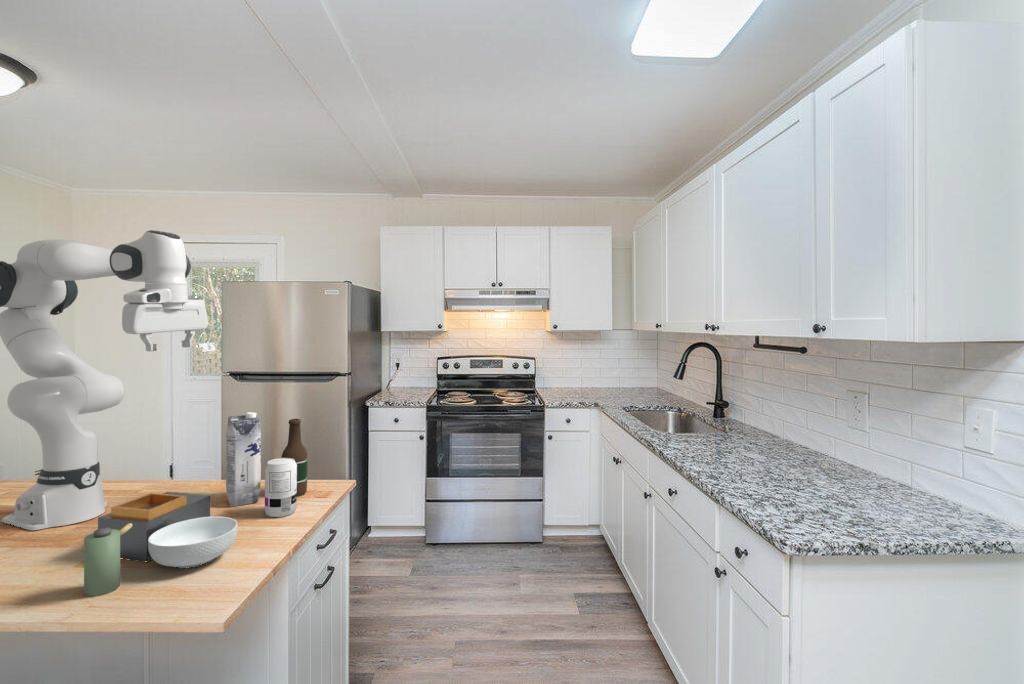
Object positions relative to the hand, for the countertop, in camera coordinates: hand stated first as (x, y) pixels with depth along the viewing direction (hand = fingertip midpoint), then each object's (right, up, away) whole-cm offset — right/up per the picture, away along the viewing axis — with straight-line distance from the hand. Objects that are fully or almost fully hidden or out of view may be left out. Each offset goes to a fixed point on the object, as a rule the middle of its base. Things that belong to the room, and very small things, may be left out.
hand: (169, 349), depth 123 cm
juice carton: (+7, -47, +22) cm, 52 cm away
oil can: (+7, -48, -27) cm, 55 cm away
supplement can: (+22, -48, +13) cm, 54 cm away
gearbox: (0, -47, -6) cm, 48 cm away
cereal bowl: (+16, -48, -15) cm, 53 cm away
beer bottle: (+19, -47, +29) cm, 59 cm away
